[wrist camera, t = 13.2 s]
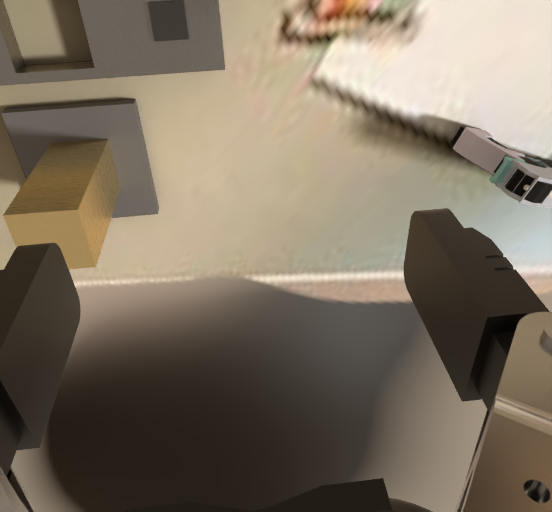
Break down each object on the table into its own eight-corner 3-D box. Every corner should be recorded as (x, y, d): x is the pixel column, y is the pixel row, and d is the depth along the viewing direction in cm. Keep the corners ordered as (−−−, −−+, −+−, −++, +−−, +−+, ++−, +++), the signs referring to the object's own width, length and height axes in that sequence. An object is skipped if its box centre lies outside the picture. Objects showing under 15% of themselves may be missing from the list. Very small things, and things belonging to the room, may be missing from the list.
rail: (-100, 84, 36) (-117, 94, 34) (-154, -24, 32) (-176, -19, 30) (224, 62, 38) (225, 70, 36) (214, -45, 33) (214, -41, 32)
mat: (46, 217, 44) (43, 223, 43) (5, 108, 38) (0, 113, 37) (158, 208, 44) (157, 213, 44) (135, 99, 38) (134, 103, 38)
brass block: (66, 192, 42) (27, 272, 33) (50, 142, 39) (3, 215, 30) (120, 188, 42) (95, 266, 33) (108, 139, 39) (77, 209, 30)
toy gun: (549, 169, 51) (631, 226, 44) (438, 141, 42) (519, 206, 36) (563, 150, 50) (650, 205, 43) (452, 117, 41) (539, 180, 34)
